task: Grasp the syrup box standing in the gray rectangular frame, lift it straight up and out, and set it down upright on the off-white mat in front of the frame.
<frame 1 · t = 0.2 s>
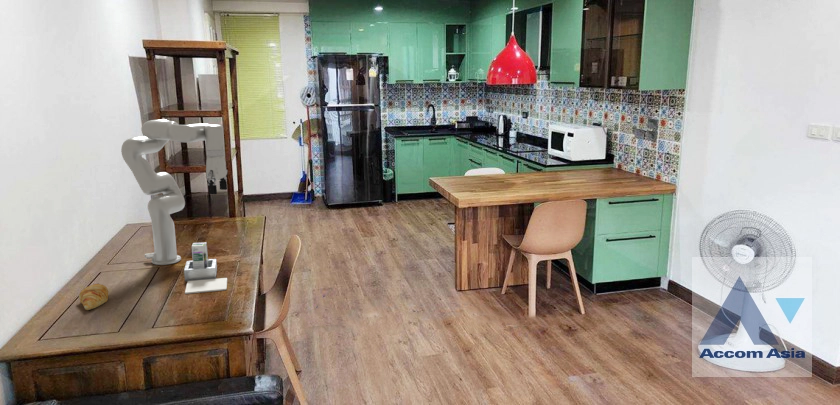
hand: (218, 191, 247), 36 cm above the table, tool pointing down, fingers open, 9 cm apart
syrup box: (201, 275, 248), resting in gray rectangular frame
croissant: (94, 302, 218), on the table
mat: (206, 286, 235), on the table
gray rectangular frame: (201, 275, 248), on the table
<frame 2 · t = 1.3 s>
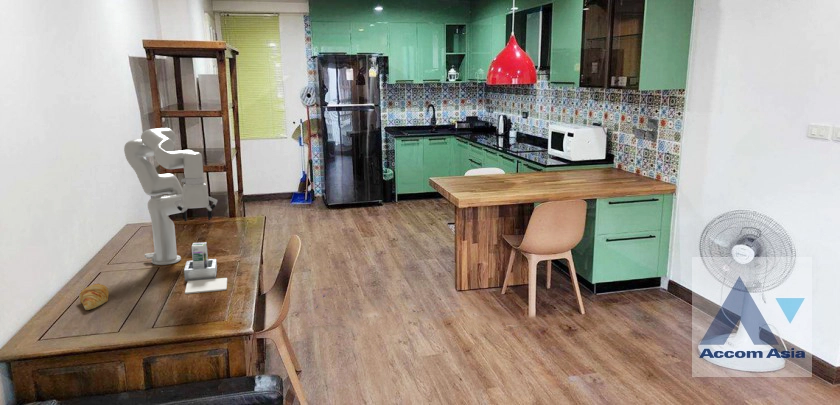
hand: (197, 220, 242), 25 cm above the table, tool pointing down, fingers open, 9 cm apart
nothing on the table moved.
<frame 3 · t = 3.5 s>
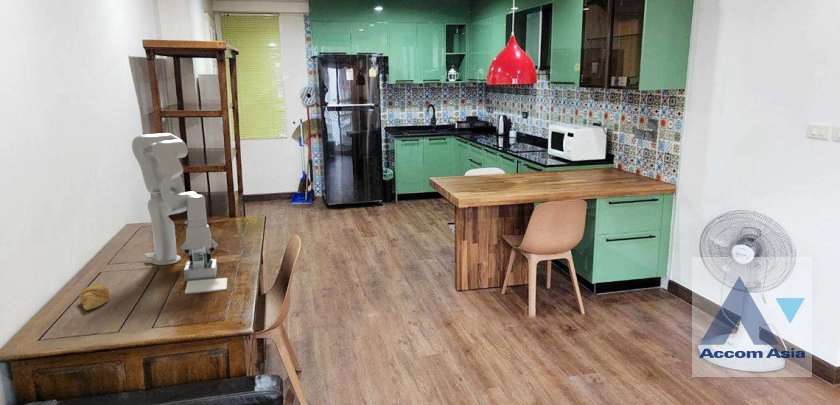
hand: (200, 262, 246), 6 cm above the table, tool pointing down, fingers closed on syrup box, 5 cm apart
syrup box: (201, 275, 248), resting in gray rectangular frame, touching gripper
everything else where it was.
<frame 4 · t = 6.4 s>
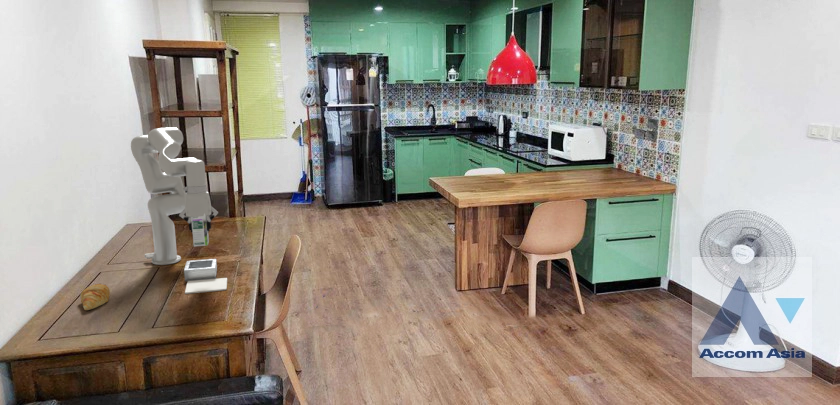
hand: (200, 230, 238), 22 cm above the table, tool pointing down, fingers closed on syrup box, 5 cm apart
syrup box: (201, 244, 239), point 16 cm above the table, touching gripper
everything else where it was.
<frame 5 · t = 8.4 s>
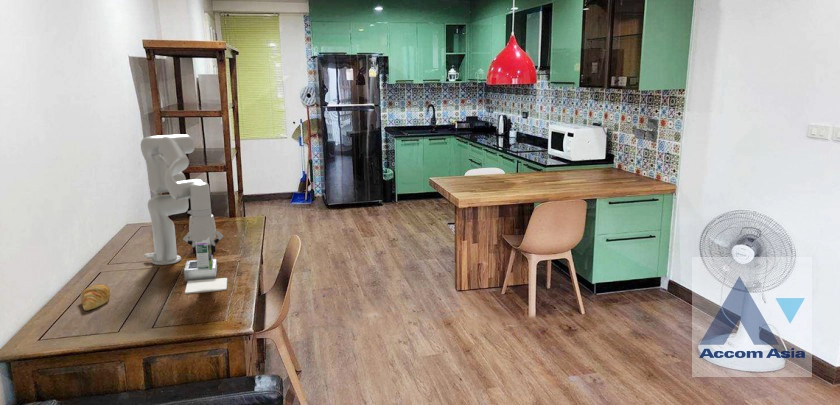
hand: (204, 254, 232), 14 cm above the table, tool pointing down, fingers closed on syrup box, 5 cm apart
syrup box: (205, 268, 233), point 8 cm above the table, touching gripper
everything else where it was.
when the fingers open (8 cm above the table, at t = 10.0 s): syrup box stays where it is, resting on mat.
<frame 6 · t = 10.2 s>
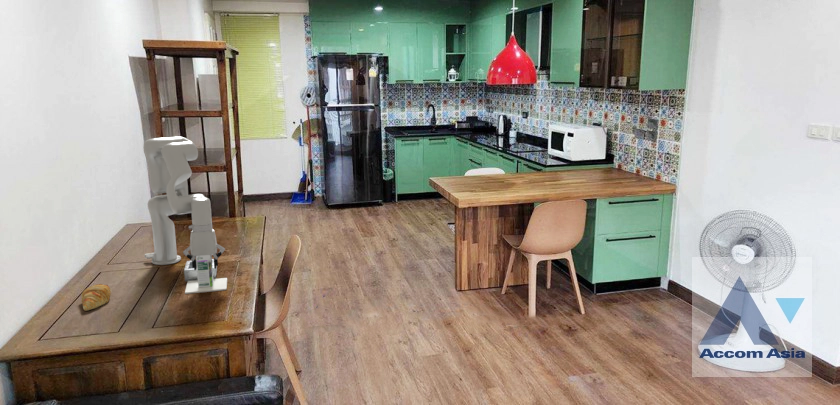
hand: (205, 268, 233), 8 cm above the table, tool pointing down, fingers open, 7 cm apart
syrup box: (206, 285, 235), resting on mat
everything else where it was.
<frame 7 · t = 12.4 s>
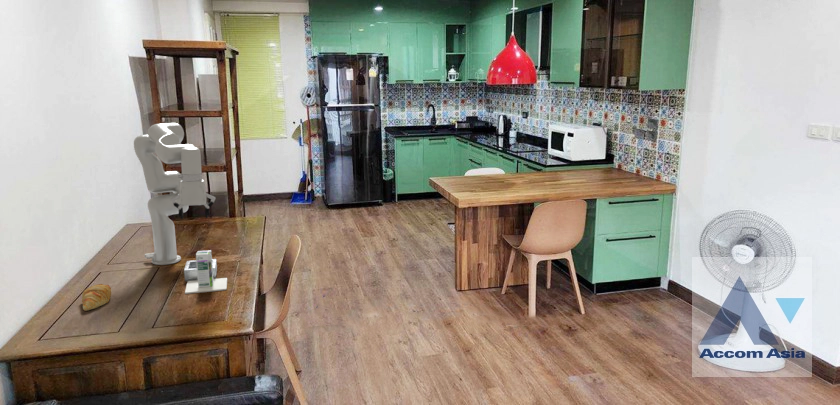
hand: (194, 217, 233), 29 cm above the table, tool pointing down, fingers open, 9 cm apart
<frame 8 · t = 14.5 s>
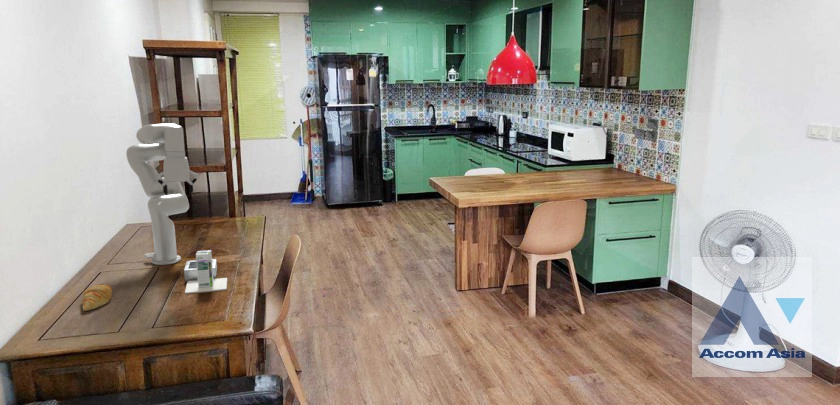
hand: (178, 194, 241), 36 cm above the table, tool pointing down, fingers open, 9 cm apart
at the end: syrup box inside the target area on the mat (0.4 cm from its centre), point 0.4 cm above the mat's base; syrup box tilted 0°; the gripper is holding nothing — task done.
